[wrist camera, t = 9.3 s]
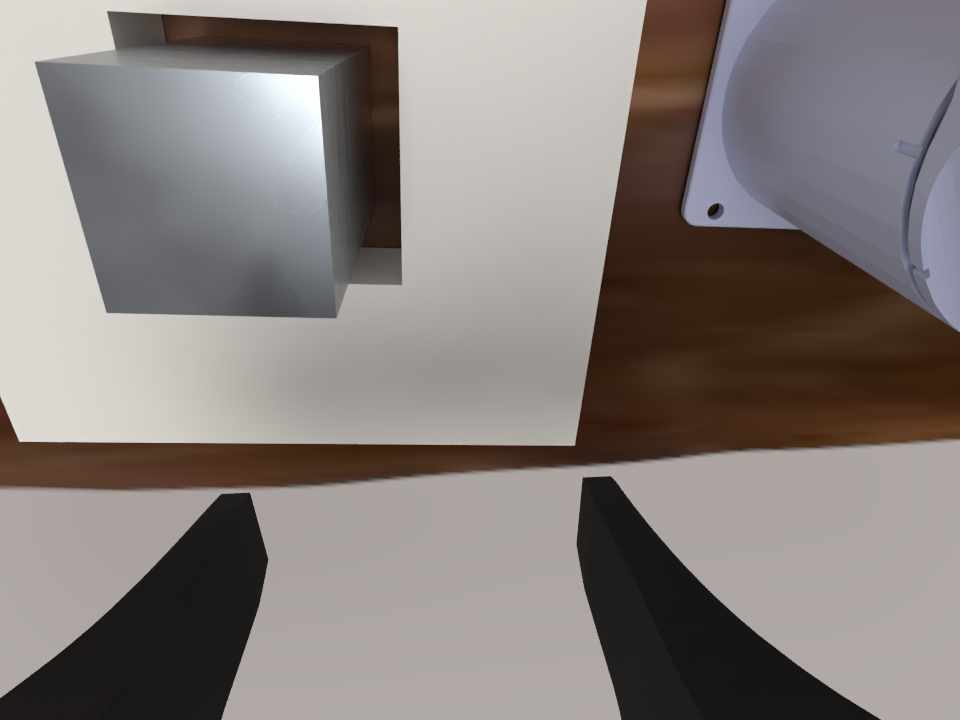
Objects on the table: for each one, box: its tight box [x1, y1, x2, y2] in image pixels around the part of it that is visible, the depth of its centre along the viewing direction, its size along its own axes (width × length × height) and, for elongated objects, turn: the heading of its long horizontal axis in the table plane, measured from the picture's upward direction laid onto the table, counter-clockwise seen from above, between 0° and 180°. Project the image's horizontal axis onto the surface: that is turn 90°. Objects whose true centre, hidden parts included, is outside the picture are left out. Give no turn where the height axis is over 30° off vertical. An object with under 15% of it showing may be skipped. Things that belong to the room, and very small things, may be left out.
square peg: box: [35, 36, 375, 319], centre depth 15 cm, size 4×4×8 cm
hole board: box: [0, 0, 647, 446], centre depth 17 cm, size 18×18×3 cm
